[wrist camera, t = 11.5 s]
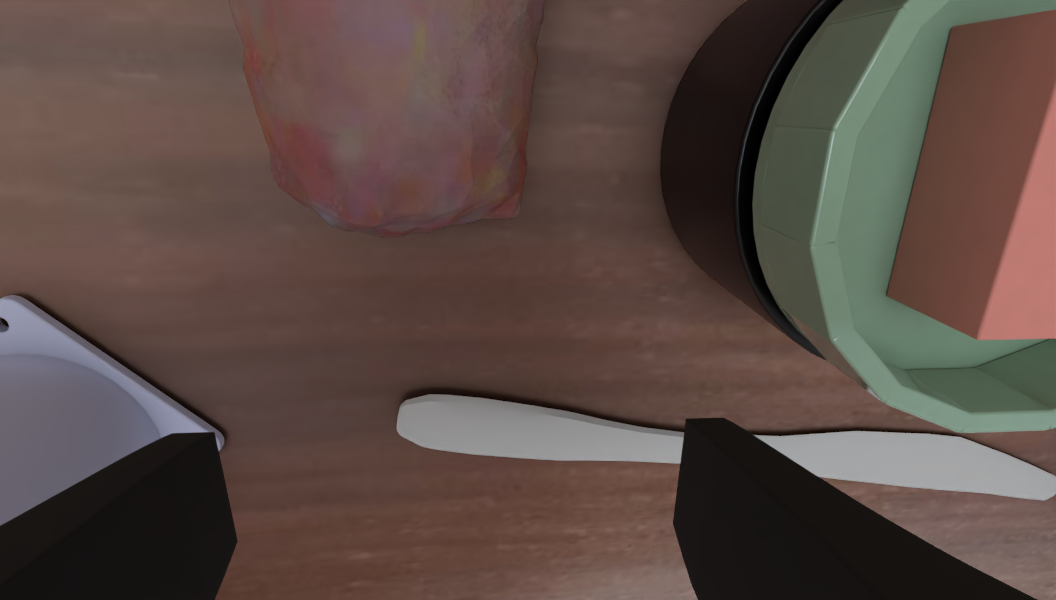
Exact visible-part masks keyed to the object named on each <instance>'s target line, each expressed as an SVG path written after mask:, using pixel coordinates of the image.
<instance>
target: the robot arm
mask: <svg viewBox="0 0 1056 600" xmlns="http://www.w3.org/2000/svg"><path fill="white" fill-rule="evenodd" d="M1 318H3V319H5V320H6V321H7V322H8V325H9V327H7V326H5V325H4V324H3V323H2V321H1ZM223 445H224V437H223V435H222V434H221V433H220V432H219V431H218V430H217V429H215V428H214V427H212V426H211V425H209V424H208V423H206V422H205V421H204V420H202V419H201V418H199V417H198V416H196V415H195V414H193V413H192V412H190V411H189V410H187V409H186V408H184V407H183V406H182V405H180V404H179V403H177V402H176V401H174V400H173V399H171V398H170V397H168V396H167V395H165V394H164V393H162V392H161V391H160V390H158V389H157V388H155V387H154V386H152V385H151V384H149V383H148V382H146V381H145V380H143V379H142V378H141V377H139V376H138V375H136V374H135V373H133V372H132V371H130V370H129V369H127V368H126V367H124V366H123V365H121V364H120V363H119V362H117V361H116V360H114V359H113V358H111V357H110V356H108V355H107V354H105V353H104V352H102V351H101V350H100V349H98V348H97V347H95V346H94V345H92V344H91V343H89V342H88V341H86V340H85V339H83V338H82V337H80V336H79V335H78V334H76V333H75V332H73V331H72V330H70V329H69V328H67V327H66V326H64V325H63V324H61V323H60V322H59V321H57V320H56V319H54V318H53V317H51V316H50V315H48V314H47V313H45V312H44V311H42V310H41V309H39V308H38V307H37V306H35V305H34V304H32V303H31V302H29V301H28V300H26V299H24V298H22V297H20V296H16V295H9V296H5V297H3V298H0V600H215V598H216V595H217V593H218V590H219V588H220V585H221V583H222V581H223V578H224V576H225V573H226V570H227V568H228V565H229V562H230V560H231V557H232V554H233V552H234V549H235V546H236V544H237V536H236V532H235V527H234V522H233V517H232V513H231V508H230V503H229V498H228V494H227V489H226V484H225V479H224V475H223V470H222V465H221V460H220V456H219V451H220V450H221V448H222V447H223ZM673 525H674V529H675V532H676V535H677V539H678V542H679V546H680V549H681V552H682V556H683V559H684V562H685V565H686V568H687V571H688V574H689V578H690V581H691V584H692V587H693V589H694V591H695V594H696V596H697V598H698V600H1037V599H1035V598H1033V597H1031V596H1029V595H1027V594H1025V593H1023V592H1021V591H1019V590H1017V589H1015V588H1013V587H1011V586H1009V585H1007V584H1005V583H1003V582H1001V581H999V580H997V579H995V578H993V577H991V576H989V575H987V574H985V573H983V572H981V571H979V570H977V569H975V568H973V567H972V566H970V565H968V564H966V563H964V562H962V561H960V560H959V559H957V558H955V557H953V556H951V555H949V554H947V553H946V552H944V551H942V550H940V549H938V548H936V547H935V546H933V545H931V544H929V543H928V542H926V541H924V540H922V539H921V538H919V537H917V536H915V535H914V534H912V533H910V532H909V531H907V530H905V529H903V528H902V527H900V526H898V525H896V524H895V523H893V522H891V521H889V520H888V519H886V518H884V517H882V516H881V515H879V514H877V513H876V512H874V511H873V510H871V509H869V508H868V507H866V506H864V505H863V504H861V503H859V502H858V501H856V500H854V499H853V498H851V497H850V496H848V495H846V494H845V493H843V492H841V491H840V490H838V489H837V488H835V487H833V486H832V485H830V484H829V483H827V482H826V481H824V480H822V479H821V478H819V477H818V476H816V475H815V474H813V473H811V472H810V471H808V470H807V469H805V468H804V467H802V466H801V465H799V464H797V463H796V462H794V461H793V460H791V459H790V458H788V457H787V456H785V455H784V454H782V453H781V452H779V451H777V450H776V449H774V448H773V447H771V446H770V445H768V444H767V443H765V442H763V441H762V440H760V439H759V438H757V437H756V436H754V435H752V434H751V433H749V432H748V431H746V430H744V429H743V428H741V427H739V426H738V425H736V424H734V423H732V422H731V421H729V420H727V419H725V418H698V419H686V423H685V431H684V439H683V447H682V455H681V463H680V471H679V479H678V487H677V495H676V503H675V511H674V519H673Z"/></svg>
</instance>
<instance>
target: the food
mask: <svg viewBox="0 0 1056 600" xmlns="http://www.w3.org/2000/svg"><path fill="white" fill-rule="evenodd" d="M229 3H230V7H231V11H232V14H233V17H234V20H235V23H236V26H237V29H238V31H239V34H240V37H241V40H242V42H243V45H244V48H245V56H244V67H243V69H244V72H245V76H246V79H247V82H248V85H249V88H250V91H251V95H252V98H253V102H254V106H255V109H256V112H257V115H258V118H259V121H260V123H261V126H262V129H263V132H264V136H265V139H266V142H267V144H268V147H269V150H270V155H271V170H272V173H273V177H274V179H275V181H276V183H277V184H278V186H279V187H280V188H281V189H282V190H283V191H285V192H286V193H287V194H288V195H290V196H291V197H292V198H293V199H295V200H296V201H297V202H299V203H301V204H303V205H305V206H307V207H309V208H311V209H312V210H313V211H314V212H315V213H316V214H317V215H318V216H319V217H321V218H322V219H323V220H324V221H326V222H327V223H328V224H330V225H331V226H333V227H336V228H339V229H341V230H344V231H357V232H362V233H366V234H370V235H374V236H379V237H398V236H403V235H406V234H410V233H428V232H430V231H432V230H434V229H437V228H440V227H446V226H451V225H457V224H468V223H471V222H474V221H476V220H479V219H512V218H514V217H515V216H516V215H518V214H519V212H520V204H521V196H522V189H523V184H524V179H525V174H526V167H527V161H526V155H525V144H526V140H527V135H528V128H529V119H530V111H531V102H532V93H533V84H534V78H535V72H536V67H537V61H538V57H537V52H536V47H535V46H536V42H537V38H538V33H539V29H540V25H541V23H542V21H543V14H544V0H229Z"/></svg>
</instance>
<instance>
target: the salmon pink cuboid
mask: <svg viewBox="0 0 1056 600" xmlns="http://www.w3.org/2000/svg"><path fill="white" fill-rule="evenodd" d="M887 297H889V298H891V299H893V300H896V301H898V302H900V303H902V304H904V305H906V306H908V307H910V308H912V309H914V310H916V311H918V312H920V313H922V314H925V315H927V316H929V317H931V318H933V319H935V320H937V321H939V322H941V323H943V324H945V325H947V326H949V327H951V328H954V329H956V330H958V331H960V332H962V333H964V334H966V335H968V336H970V337H972V338H974V339H976V340H1016V339H1056V10H1050V11H1044V12H1038V13H1032V14H1026V15H1020V16H1013V17H1007V18H1001V19H995V20H989V21H983V22H976V23H970V24H964V25H958V26H954V27H952V29H951V31H950V36H949V40H948V44H947V48H946V52H945V56H944V60H943V64H942V68H941V73H940V77H939V81H938V85H937V89H936V93H935V97H934V101H933V106H932V110H931V114H930V118H929V122H928V126H927V130H926V134H925V138H924V143H923V147H922V151H921V155H920V159H919V163H918V167H917V171H916V176H915V180H914V184H913V188H912V192H911V196H910V200H909V204H908V208H907V213H906V217H905V221H904V225H903V229H902V233H901V237H900V241H899V246H898V250H897V254H896V258H895V262H894V266H893V270H892V274H891V278H890V283H889V287H888V291H887Z"/></svg>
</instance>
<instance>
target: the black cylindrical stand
mask: <svg viewBox="0 0 1056 600" xmlns="http://www.w3.org/2000/svg"><path fill="white" fill-rule="evenodd" d="M842 1H843V0H749V1H747V2H746V3H744V4H743V5H742V6H740V7H739V8H738V9H737V10H736V11H735V12H734V13H732V14H731V15H730V16H729V17H728V18H727V19H726V20H724V21H723V23H722V24H721V25H720V26H719V27H718V28H717V29H716V30H715V31H714V33H713V34H712V35H711V36H710V37H709V38H708V39H707V40H706V42H705V43H704V45H703V46H702V48H701V49H700V50H699V52H698V53H697V55H696V56H695V57H694V59H693V60H692V62H691V64H690V66H689V67H688V69H687V71H686V73H685V75H684V77H683V78H682V80H681V82H680V84H679V87H678V89H677V92H676V94H675V97H674V99H673V102H672V104H671V107H670V111H669V114H668V118H667V122H666V125H665V130H664V137H663V143H662V150H661V179H662V189H663V196H664V200H665V204H666V208H667V212H668V215H669V218H670V220H671V223H672V226H673V228H674V231H675V233H676V235H677V236H678V238H679V240H680V242H681V243H682V245H683V247H684V249H685V250H686V251H687V252H688V254H689V255H690V256H691V258H692V259H693V260H694V261H695V263H696V264H697V265H698V266H699V267H700V268H702V269H703V270H704V271H705V272H706V273H707V274H708V275H709V276H710V277H711V278H713V279H714V280H715V281H717V282H718V283H719V284H721V285H722V286H723V287H724V288H726V289H727V290H728V291H730V292H731V293H732V294H733V295H735V296H736V297H737V298H739V299H740V300H741V301H743V302H744V303H745V304H746V305H748V306H749V307H750V308H752V309H753V310H754V311H755V312H757V313H758V314H759V315H761V316H762V317H763V318H764V319H766V320H767V321H768V322H770V323H771V324H772V325H774V326H775V327H776V328H777V329H779V330H780V331H781V332H783V333H784V334H785V335H786V336H788V337H789V338H790V339H792V340H793V341H795V342H796V343H797V344H799V345H800V346H802V347H803V348H805V349H806V350H807V351H809V352H810V353H812V354H814V355H816V356H818V357H820V358H822V359H824V360H826V359H825V358H824V357H823V355H822V354H821V353H820V352H819V351H818V350H817V348H816V347H815V346H814V345H812V344H811V343H810V342H808V341H807V340H806V339H805V338H804V337H803V336H802V335H801V334H800V333H799V332H798V331H797V330H796V329H795V328H794V327H793V326H792V324H791V323H790V322H789V320H788V319H787V318H786V316H785V315H784V314H783V312H782V311H781V310H780V308H779V307H778V305H777V303H776V301H775V299H774V297H773V295H772V293H771V291H770V289H769V288H768V286H767V283H766V280H765V277H764V274H763V271H762V268H761V265H760V262H759V259H758V254H757V248H756V243H755V237H754V229H753V207H752V202H753V190H754V178H755V170H756V165H757V161H758V156H759V151H760V146H761V141H762V138H763V135H764V132H765V129H766V126H767V123H768V120H769V117H770V114H771V111H772V109H773V106H774V104H775V102H776V100H777V98H778V96H779V93H780V91H781V89H782V87H783V85H784V83H785V80H786V78H787V76H788V75H789V73H790V71H791V70H792V68H793V66H794V65H795V63H796V61H797V60H798V58H799V56H800V55H801V53H802V51H803V50H804V48H805V46H806V45H807V44H808V42H809V41H810V40H811V38H812V37H813V36H814V34H815V33H816V32H817V30H818V29H819V28H820V26H821V25H822V24H823V22H824V21H825V20H826V18H827V17H828V16H829V15H830V14H831V12H832V11H833V10H834V9H835V8H836V7H837V6H838V5H839V4H840V3H841V2H842ZM826 361H827V360H826Z"/></svg>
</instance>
